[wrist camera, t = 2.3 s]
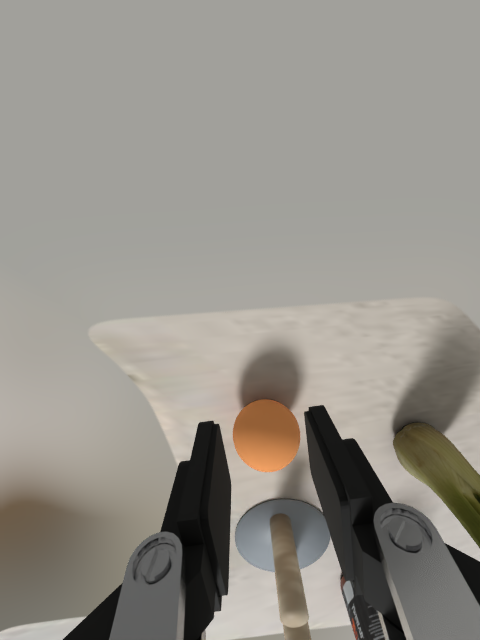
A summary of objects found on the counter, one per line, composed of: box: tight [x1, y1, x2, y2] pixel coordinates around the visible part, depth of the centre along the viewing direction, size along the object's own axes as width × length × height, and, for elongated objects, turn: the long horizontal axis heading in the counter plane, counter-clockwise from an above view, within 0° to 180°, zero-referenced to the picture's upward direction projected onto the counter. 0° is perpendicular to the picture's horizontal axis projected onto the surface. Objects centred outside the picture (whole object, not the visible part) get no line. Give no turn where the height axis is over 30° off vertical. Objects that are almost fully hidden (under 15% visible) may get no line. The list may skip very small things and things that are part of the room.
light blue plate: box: [235, 499, 330, 572], centre depth 32 cm, size 11×11×1 cm
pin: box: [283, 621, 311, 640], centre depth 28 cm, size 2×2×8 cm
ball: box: [233, 399, 300, 472], centre depth 25 cm, size 6×6×6 cm
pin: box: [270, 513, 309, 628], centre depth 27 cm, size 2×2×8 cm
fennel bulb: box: [393, 422, 480, 548], centre depth 23 cm, size 6×5×12 cm
